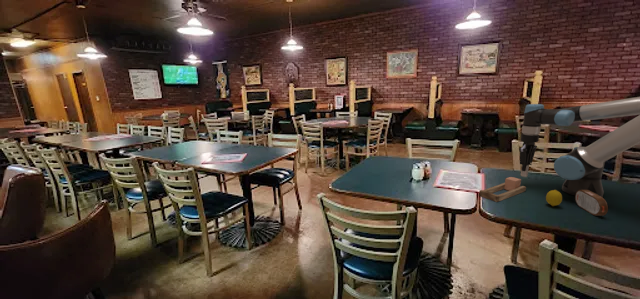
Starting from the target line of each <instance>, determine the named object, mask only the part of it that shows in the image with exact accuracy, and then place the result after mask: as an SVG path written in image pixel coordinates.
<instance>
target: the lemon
mask: <svg viewBox="0 0 640 299" xmlns="http://www.w3.org/2000/svg"><path fill="white" fill-rule="evenodd" d="M545 200H546V202H547V203H548V204H549V205H551V207H556V206H560V204H561V203H562V202H563V195H562V193H561V192H560V191H559V190H557V189H552V190H550V191H548V192H547V193H546V196H545Z"/></svg>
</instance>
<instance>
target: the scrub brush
mask: <svg viewBox="0 0 640 299" xmlns="http://www.w3.org/2000/svg"><path fill="white" fill-rule="evenodd" d="M574 199H575V200H574V201H575V203H576V204H577V206H578V207H579V208H581V209H582V210H584V211H586V212H587V213H589V214H591V215H593V216H596V217H597V216H600V217H604V216H606V214H608V210H609V207H608V202H607V201H606V199H605V198H603V197H601V196H599V195H597V194H595V193H593V192H591V191H589V190H578V191H577V192H576V195H574Z"/></svg>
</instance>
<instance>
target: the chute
mask: <svg viewBox="0 0 640 299" xmlns="http://www.w3.org/2000/svg"><path fill="white" fill-rule="evenodd" d="M504 187H505V182H502V183H500V184H497V185H495V186H491V187H489V188H488V187H487V188H485V189H480V190H479V192H478V196H479V197H481V198H484V199H487V200H490V201H493V202H495V203H498V202H501V201H505V200H506V199H509V198H511V197H515V196H516V195H519V194H522V193H524V192H526V190H527V187H526V186H524V185H520V187H518V188H516V189H513V190H510V191H509V190H507V191H505V192H503V193H500V194H495V193H497V192H500V191H502V190H505V189H504Z"/></svg>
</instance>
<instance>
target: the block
mask: <svg viewBox="0 0 640 299" xmlns="http://www.w3.org/2000/svg"><path fill="white" fill-rule="evenodd" d="M504 183H505V187H504V189H503V190H506V191H510V190H513V189H516V188H518V187H521V183H522V179H521V178H517V177H513V176H510V177H506V178H505V180H504Z"/></svg>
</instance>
